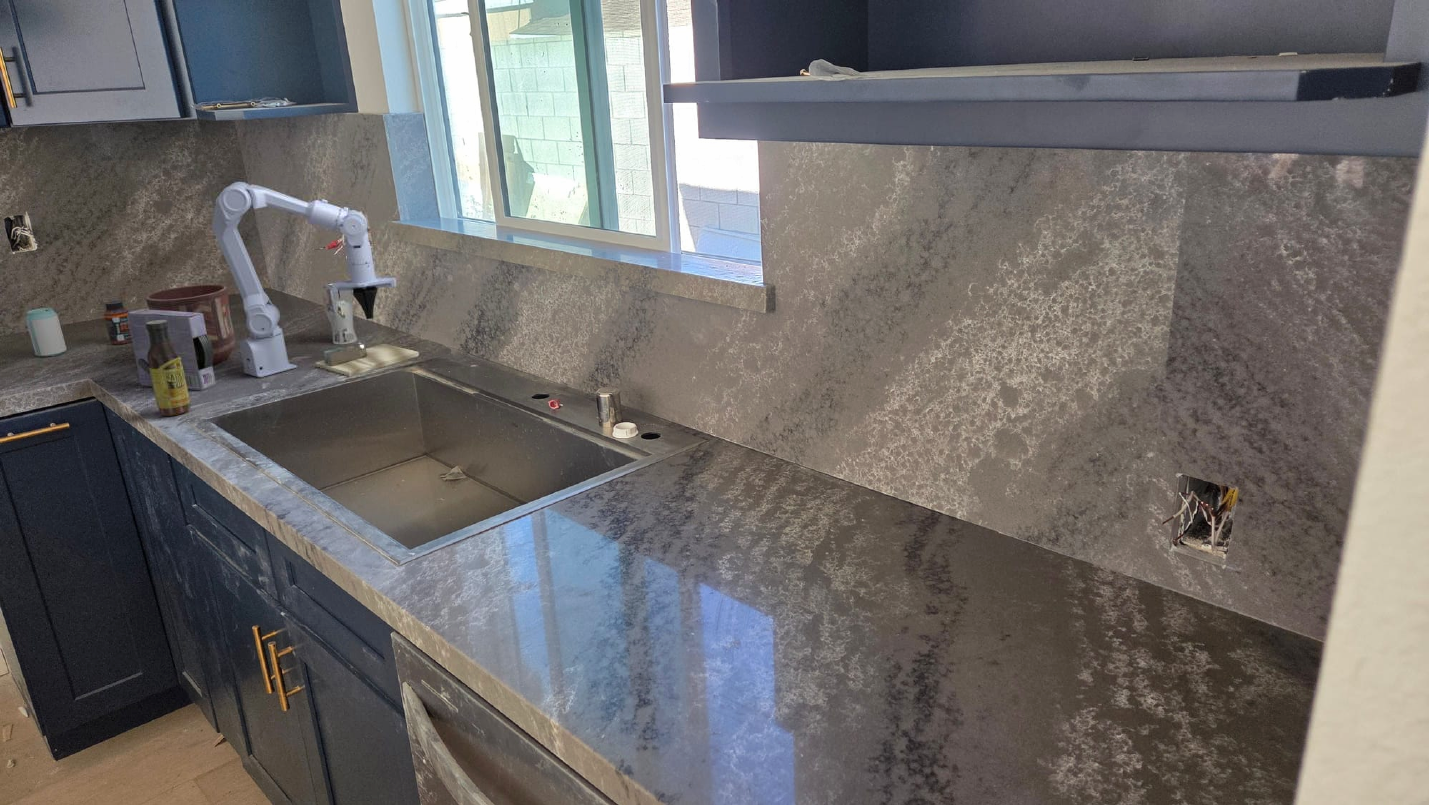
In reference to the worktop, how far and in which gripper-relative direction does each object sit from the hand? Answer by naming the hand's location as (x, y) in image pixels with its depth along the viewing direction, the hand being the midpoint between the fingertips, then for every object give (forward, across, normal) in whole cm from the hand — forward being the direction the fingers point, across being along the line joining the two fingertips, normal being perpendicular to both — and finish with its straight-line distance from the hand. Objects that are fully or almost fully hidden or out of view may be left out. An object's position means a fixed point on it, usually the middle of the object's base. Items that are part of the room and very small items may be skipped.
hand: (370, 318), depth 244 cm
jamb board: (+10, -2, -3) cm, 11 cm away
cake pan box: (+10, -43, -9) cm, 45 cm away
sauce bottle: (+10, -37, -30) cm, 49 cm away
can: (+10, -88, +34) cm, 95 cm away
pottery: (+10, -44, +12) cm, 47 cm away
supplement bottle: (+10, -73, +41) cm, 84 cm away
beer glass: (+10, -11, +19) cm, 24 cm away
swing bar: (+9, -6, -4) cm, 11 cm away
